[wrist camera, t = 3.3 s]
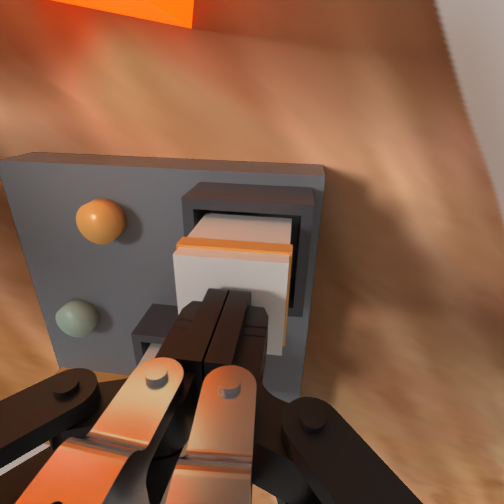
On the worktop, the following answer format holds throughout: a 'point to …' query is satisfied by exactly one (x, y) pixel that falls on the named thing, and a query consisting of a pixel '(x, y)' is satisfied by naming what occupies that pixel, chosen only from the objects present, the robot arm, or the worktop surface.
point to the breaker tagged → (239, 265)
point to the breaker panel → (148, 247)
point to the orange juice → (145, 9)
